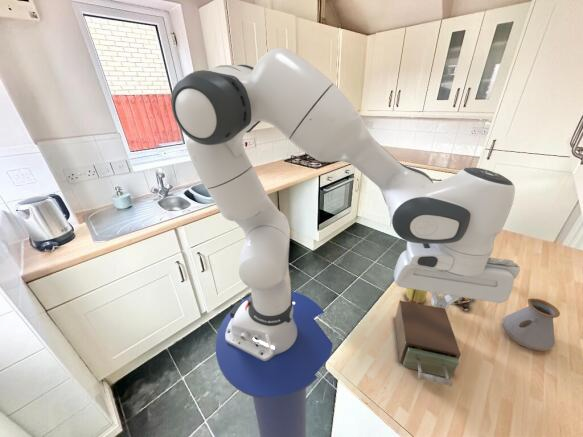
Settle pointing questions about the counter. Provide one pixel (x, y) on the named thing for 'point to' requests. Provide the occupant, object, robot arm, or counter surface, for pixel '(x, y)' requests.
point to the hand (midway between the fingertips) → (438, 305)
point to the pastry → (463, 302)
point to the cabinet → (424, 329)
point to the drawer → (431, 365)
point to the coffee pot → (533, 325)
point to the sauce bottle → (415, 296)
